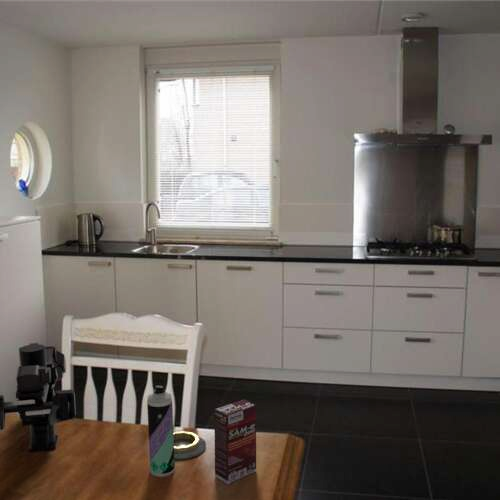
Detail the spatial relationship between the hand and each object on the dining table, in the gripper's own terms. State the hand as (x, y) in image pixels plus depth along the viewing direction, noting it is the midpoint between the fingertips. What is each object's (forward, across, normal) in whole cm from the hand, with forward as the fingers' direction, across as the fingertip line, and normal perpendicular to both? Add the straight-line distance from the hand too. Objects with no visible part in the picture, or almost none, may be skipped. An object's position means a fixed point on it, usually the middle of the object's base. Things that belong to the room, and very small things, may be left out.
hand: (25, 425), depth 128 cm
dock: (-15, +33, +17) cm, 40 cm away
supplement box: (0, +44, +16) cm, 47 cm away
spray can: (-5, +28, +17) cm, 33 cm away
